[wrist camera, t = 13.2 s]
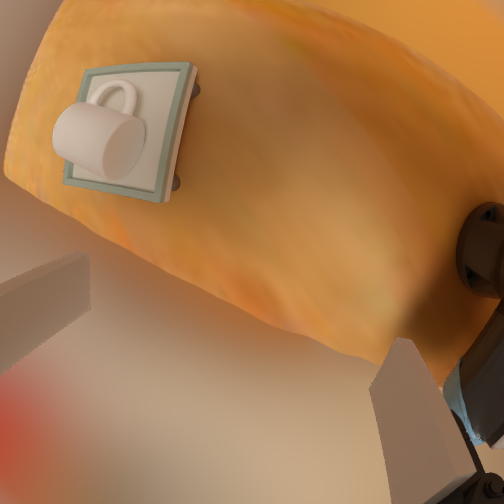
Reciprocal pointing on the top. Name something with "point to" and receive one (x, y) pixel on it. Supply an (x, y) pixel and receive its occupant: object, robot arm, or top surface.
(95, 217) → the top surface
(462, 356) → the robot arm
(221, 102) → the top surface
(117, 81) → the mug
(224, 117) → the top surface
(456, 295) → the top surface
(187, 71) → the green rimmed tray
